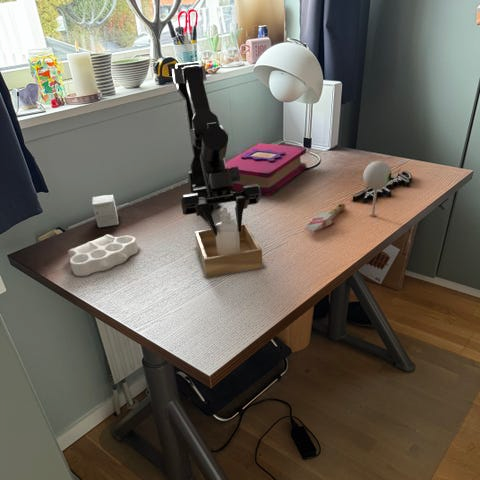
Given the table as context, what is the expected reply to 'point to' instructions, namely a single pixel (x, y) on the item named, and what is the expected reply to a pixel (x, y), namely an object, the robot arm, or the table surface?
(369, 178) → the lollipop
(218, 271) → the crate
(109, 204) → the product box
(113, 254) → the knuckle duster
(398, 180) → the nameplate
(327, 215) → the cricket bat
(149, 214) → the table surface
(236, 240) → the eye dropper bottle
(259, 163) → the book
